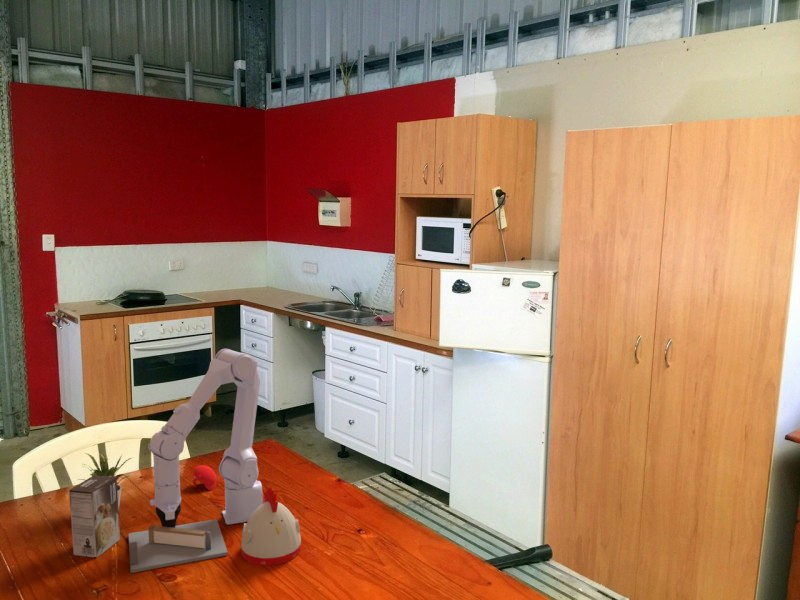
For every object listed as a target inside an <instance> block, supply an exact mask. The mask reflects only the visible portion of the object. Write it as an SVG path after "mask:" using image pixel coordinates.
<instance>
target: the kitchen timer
mask: <svg viewBox="0 0 800 600" xmlns="http://www.w3.org/2000/svg"><path fill="white" fill-rule="evenodd" d="M274 491H275V490H273V488H272V487H269V488H267V490H265V492H263V498H264V502H263V504H261V505H260V506H259V507H258V508H257V509H256V510H255V511H254V512H253V513H252V515H251V516H250V518H249V520H248V521H247V523H246V522H243V528H242V535H241V537H242V538H241V543H240V544H241V545H240V550H241V552H240V553H241V556H242V557H243V558H244V560H245V561H247V562H249V563H251V564H255V565H256V564H257V565H260V566H261V565H262V566H263V565H264V566H269V565H278V564H283V563H286V562H288V561H291V560H292V559H294V558H296V557H297V556H298V555H299V554H300V553H301V550H302V538H301V528H300V524H299V523H300V522H299V519H298V518H295V516H294V515H293V514H292V512H291V511H290V510H289V509H288V507H286V505H284V504H282V503H281V502H278V501H277V493H274Z"/></svg>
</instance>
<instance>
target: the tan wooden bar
mask: <svg viewBox="0 0 800 600" xmlns="http://www.w3.org/2000/svg"><path fill="white" fill-rule="evenodd" d="M148 531H149V542H151V543H154V542H155V543H163V544H172V545H181V546H189V547H198V548H205V547H206V546H205V532H206V531H199V530H190V529H181V528H172V527H163V526H162V525H161V526H160V525H150V526H149V527H148Z"/></svg>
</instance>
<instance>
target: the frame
mask: <svg viewBox="0 0 800 600" xmlns="http://www.w3.org/2000/svg"><path fill="white" fill-rule="evenodd" d="M175 528H181V529H190V530H199V531H206V532H205V546H206V547H205V548H198V547H189V546H181V545H172V544H163V543H155V542H154V543H151V542H149V531H148V530H142V531H135V532H131V533H130V532H129V533H128V546H129V547H128V548H129V550H128V551H129V567H130V570H129V571H130V574H132V573H137V572H138V573H139V572H143V571H144V572H145V571H149V570H153V569H154V570H155V569H160V568H166V567H172V566H177V565H182V564H188V563H194V562H198V561H204V560H210V559H215V558H219V557H224V556H225V557H226V556H229V555H228V554H229V553H228V552H229V551H228V549H227V546H226V542H225V541H224V540H225V539H224V537H223V534H222V531H221V528H220V525H219V521H218V519H216V518H215V519H209V520H204V521H196V522H191V523H185V524H180V525H179V524H178V525H177V524H176V526H175ZM193 561H194V562H193Z"/></svg>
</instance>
